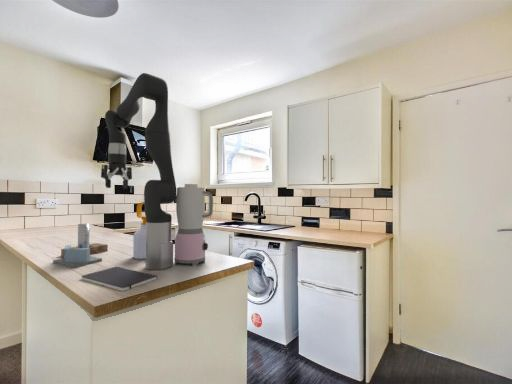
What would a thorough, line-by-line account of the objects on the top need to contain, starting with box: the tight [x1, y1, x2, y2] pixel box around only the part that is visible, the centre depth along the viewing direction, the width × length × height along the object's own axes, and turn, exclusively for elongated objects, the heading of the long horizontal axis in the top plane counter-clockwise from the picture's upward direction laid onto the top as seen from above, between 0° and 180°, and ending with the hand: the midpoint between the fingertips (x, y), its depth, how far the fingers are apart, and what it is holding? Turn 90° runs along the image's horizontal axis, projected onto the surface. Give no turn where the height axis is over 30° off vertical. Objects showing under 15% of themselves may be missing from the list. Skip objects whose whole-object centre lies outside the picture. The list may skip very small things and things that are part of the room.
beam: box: [60, 242, 109, 257], centre depth 122 cm, size 16×8×3 cm, turn 153°
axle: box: [77, 223, 91, 248], centre depth 109 cm, size 4×4×14 cm
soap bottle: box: [132, 201, 146, 260], centre depth 117 cm, size 9×9×25 cm
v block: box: [52, 244, 103, 268], centre depth 108 cm, size 15×11×6 cm
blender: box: [173, 183, 214, 267], centre depth 109 cm, size 16×12×32 cm
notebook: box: [81, 266, 159, 291], centre depth 88 cm, size 13×2×21 cm
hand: (117, 188), depth 126 cm, fingers open, 8 cm apart
